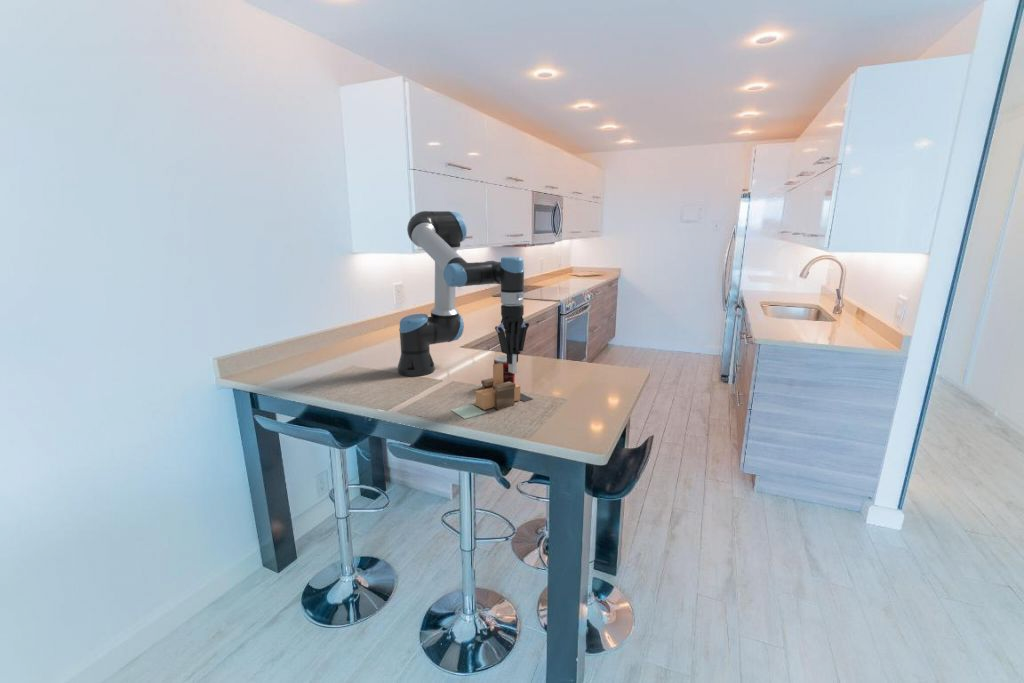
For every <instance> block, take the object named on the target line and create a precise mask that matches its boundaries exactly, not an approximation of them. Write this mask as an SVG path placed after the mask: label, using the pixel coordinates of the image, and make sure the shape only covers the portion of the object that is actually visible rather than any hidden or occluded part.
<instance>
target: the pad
mask: <svg viewBox="0 0 1024 683" xmlns="http://www.w3.org/2000/svg"><path fill="white" fill-rule="evenodd" d="M450 411H451V412H453V413H454V414H456V415H458V416H459V417H460V418H461V417H462V418H463V419H464V420H467V419H469V418H473V417H478V416H482V415H484V414H487V412H486V411H485V410H484V409H482V408H480V407H478V406H476V405H473V404H472V403H471V404H468V405H467V404H466V405H464V406H460V407H457V408H456V407H455V408H451V409H450Z"/></svg>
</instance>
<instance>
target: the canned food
mask: <svg viewBox="0 0 1024 683" xmlns="http://www.w3.org/2000/svg"><path fill="white" fill-rule="evenodd" d="M497 363H502V364H503V379H504V382H503V383H505V382H509V381H510V382H512V383H514V384H516V383H515V380H516V379H515V377H516V376H515V374H516V373H510V372H508V363H507V355H499V356H495V357H494V359H493V364H497Z"/></svg>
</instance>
